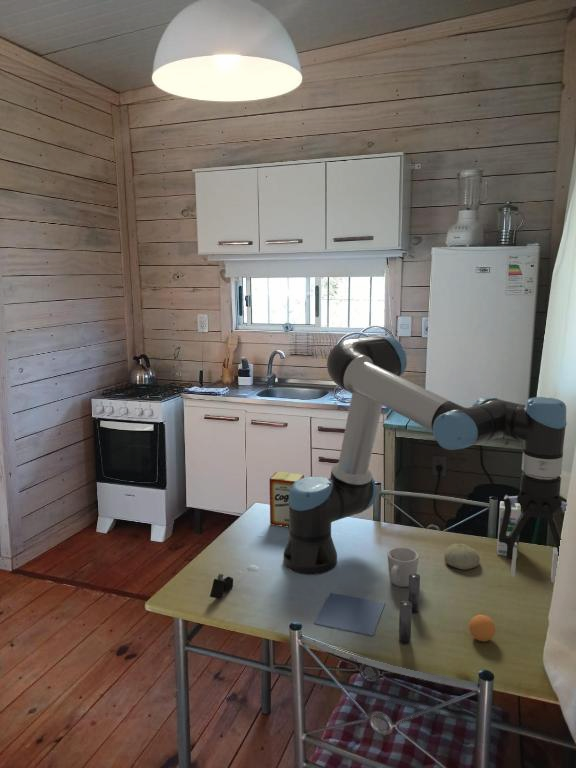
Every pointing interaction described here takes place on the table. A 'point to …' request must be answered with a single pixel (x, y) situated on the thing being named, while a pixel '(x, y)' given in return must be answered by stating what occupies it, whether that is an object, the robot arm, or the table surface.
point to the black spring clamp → (221, 586)
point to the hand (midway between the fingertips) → (532, 576)
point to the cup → (402, 565)
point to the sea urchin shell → (461, 556)
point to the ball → (482, 628)
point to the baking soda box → (281, 496)
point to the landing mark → (350, 613)
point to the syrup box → (512, 521)
